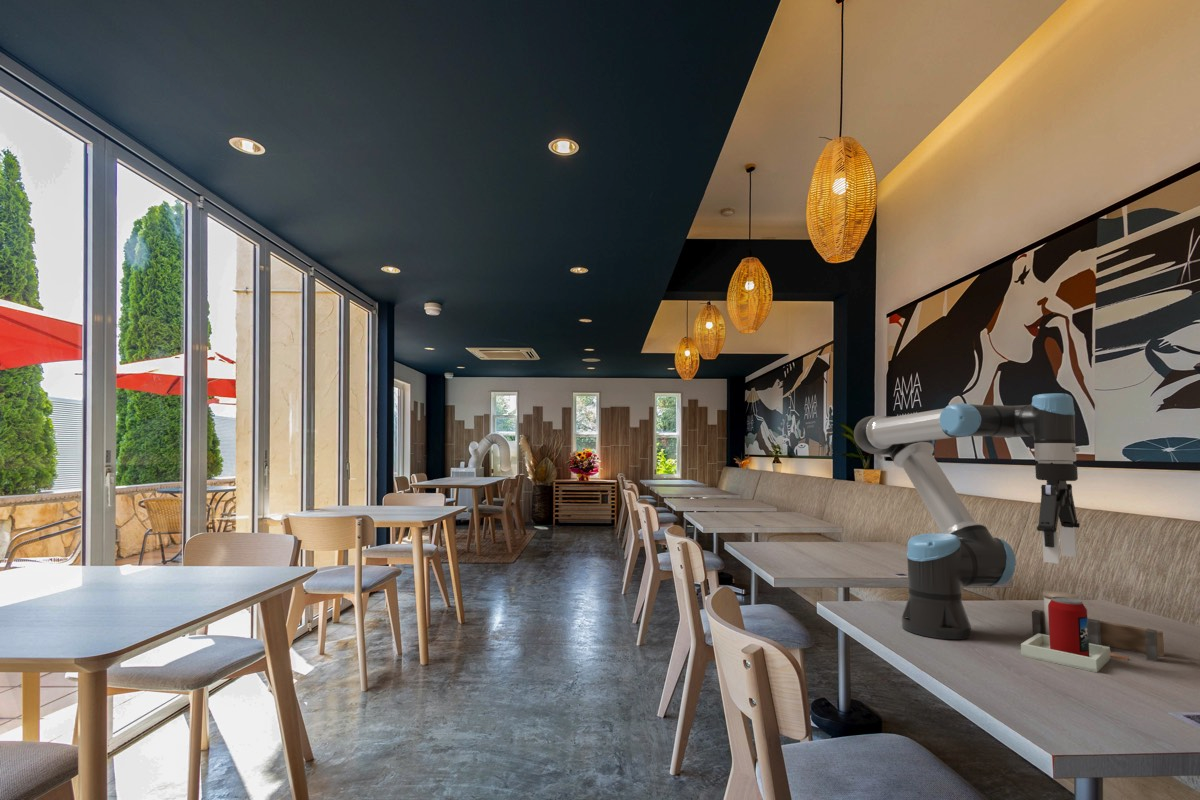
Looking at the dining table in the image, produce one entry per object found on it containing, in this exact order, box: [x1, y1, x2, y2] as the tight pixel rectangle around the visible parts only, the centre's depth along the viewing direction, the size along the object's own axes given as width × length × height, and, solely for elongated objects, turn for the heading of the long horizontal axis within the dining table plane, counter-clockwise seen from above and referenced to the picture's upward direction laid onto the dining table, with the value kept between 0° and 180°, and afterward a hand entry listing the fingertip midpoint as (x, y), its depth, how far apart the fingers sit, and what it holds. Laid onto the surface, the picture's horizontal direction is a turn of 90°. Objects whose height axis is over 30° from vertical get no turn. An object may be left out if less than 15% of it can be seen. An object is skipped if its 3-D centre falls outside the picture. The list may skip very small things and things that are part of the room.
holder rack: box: [1031, 609, 1165, 662], centre depth 140 cm, size 23×12×6 cm, turn 41°
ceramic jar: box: [1042, 590, 1080, 635], centre depth 145 cm, size 7×7×11 cm
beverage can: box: [1048, 597, 1089, 657], centre depth 132 cm, size 7×7×12 cm
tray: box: [1020, 633, 1112, 673], centre depth 133 cm, size 13×13×2 cm
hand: (1060, 559), depth 135 cm, fingers open, 13 cm apart
